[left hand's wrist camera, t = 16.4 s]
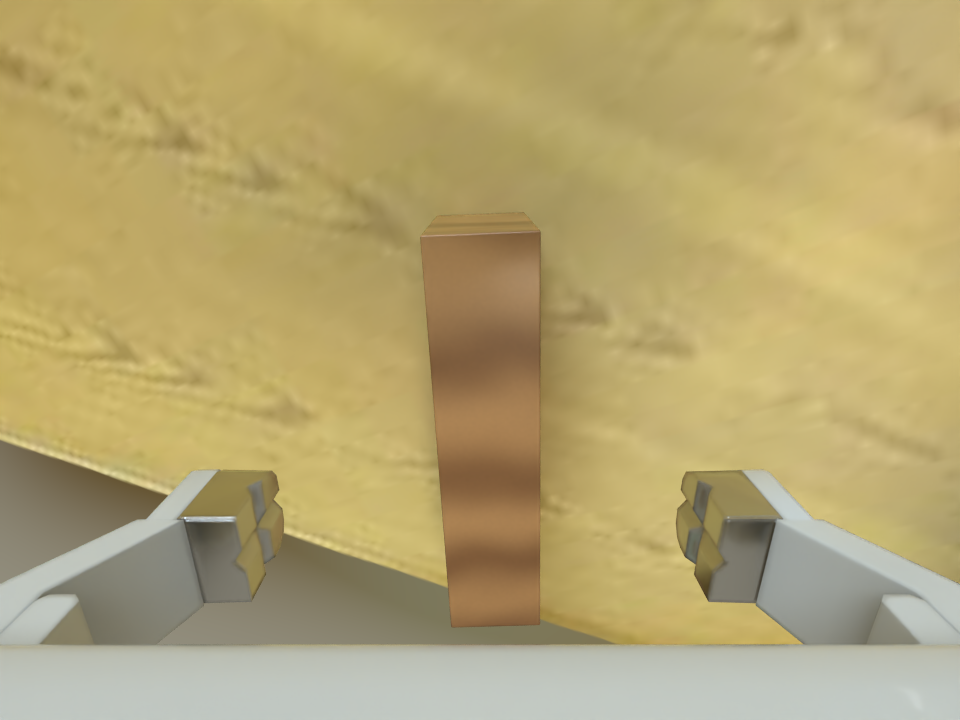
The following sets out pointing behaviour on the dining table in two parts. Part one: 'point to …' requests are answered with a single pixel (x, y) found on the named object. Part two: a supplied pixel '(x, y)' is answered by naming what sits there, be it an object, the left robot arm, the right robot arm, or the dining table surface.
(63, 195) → the dining table surface
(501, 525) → the bar
